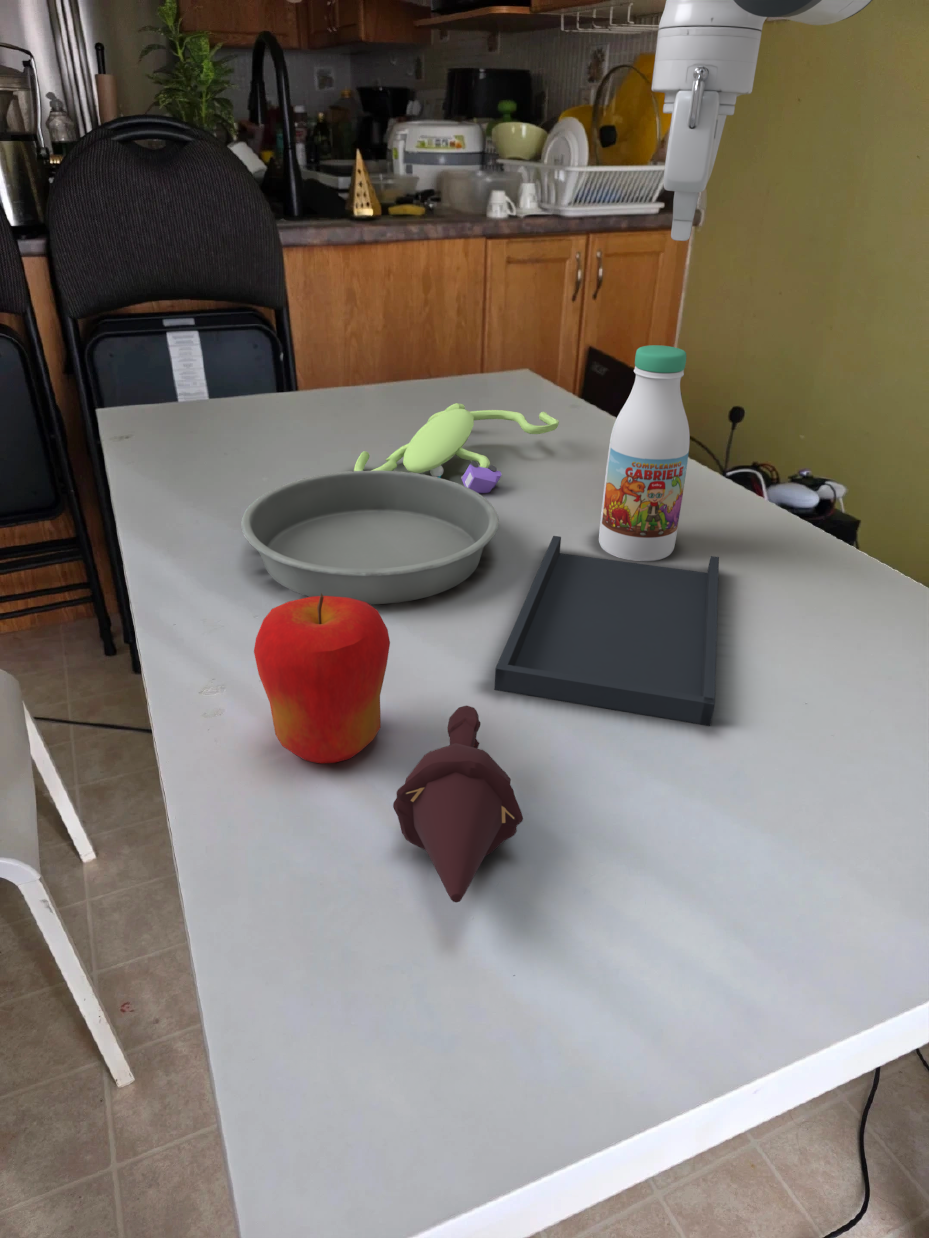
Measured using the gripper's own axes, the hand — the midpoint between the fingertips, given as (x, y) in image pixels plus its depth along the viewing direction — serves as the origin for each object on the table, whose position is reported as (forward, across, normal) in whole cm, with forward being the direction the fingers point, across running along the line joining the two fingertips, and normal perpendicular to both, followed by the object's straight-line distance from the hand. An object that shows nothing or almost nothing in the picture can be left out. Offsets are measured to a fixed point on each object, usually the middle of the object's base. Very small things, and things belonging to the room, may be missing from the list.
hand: (680, 239), depth 85 cm
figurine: (+29, +9, +24) cm, 38 cm away
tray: (+28, -27, 0) cm, 39 cm away
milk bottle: (+29, -10, 0) cm, 30 cm away
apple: (+29, -49, +17) cm, 60 cm away
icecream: (+29, -57, +6) cm, 64 cm away
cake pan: (+29, -20, +25) cm, 43 cm away
